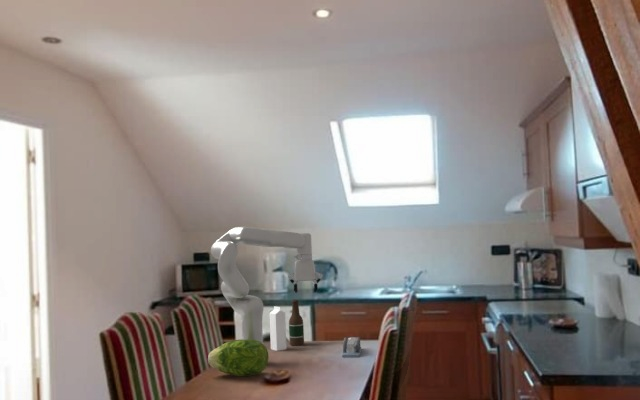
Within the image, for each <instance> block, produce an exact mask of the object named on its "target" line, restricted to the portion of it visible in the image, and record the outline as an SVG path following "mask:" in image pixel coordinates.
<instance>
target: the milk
mask: <svg viewBox="0 0 640 400" xmlns="http://www.w3.org/2000/svg"><path fill="white" fill-rule="evenodd" d="M286 323H287V321H286V312H284V311H282V310H281V307H280V306H273V310H271V311H270V312H269V335H270V337H269V338H270V350H272V351H276V352H279V351H285V350H287V349H288V348H287V329H286V328H287V326H286Z"/></svg>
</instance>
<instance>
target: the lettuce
mask: <svg viewBox="0 0 640 400" xmlns="http://www.w3.org/2000/svg"><path fill="white" fill-rule="evenodd" d="M207 361H208V365H210V367H212V368H213V369H216V370H218V371H220V372H222V373H224V374H227V375H231V376H237V377H249V376H254V375H259V374H261V373H262V372H263V371H264V370H266V368H267V366H268V363H269V351H268V349H267V346H266V345H265V344H264V343H263V344H262V343H261V342H259V341H256V340H250V339H248V340H246V339H242V338H241V339H234V340H229V341H227V342H225V343H222V344H221V345H220V346H218V347H216V348H214V349H213V350H211V351H210V352H209V353H208V358H207Z"/></svg>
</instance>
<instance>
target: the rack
mask: <svg viewBox="0 0 640 400" xmlns="http://www.w3.org/2000/svg"><path fill="white" fill-rule="evenodd" d="M356 338H357V341H356V350H355V353H354V354H347V342H348V337H344V338H343V340H342V358H360V355H361V352H362V346H361V337H360V336H359V337H358V336H357V337H356Z"/></svg>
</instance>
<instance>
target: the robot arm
mask: <svg viewBox="0 0 640 400" xmlns="http://www.w3.org/2000/svg"><path fill="white" fill-rule="evenodd" d="M239 245H244V246H245V245H247V246H255V247H263V248H264V247H265V248H284V249H289V250H291V249H295V250H296V255H294V256H293V258H294V259H296V260H295V262H294V272H292V273H291V274H290V275H288V276H287V278H288V279H289V281H290V282H291V283H292V285H293V292H295V293H296V294H297V293H298V292H299V291H298V282H309V281H312V282H313V283H314V284H313V285H314V286H313V290H314V293H317V291H318V290H319V289H318V288H319V287H318V283H320V282H321V280H322V278H323V276H324V275H323V274H322V273H320V272H317V271H316V266H315V261H314V260H313V247H312V246H313V245H312V235H311V233H309V232H303V233H301V232H300V233H299V232H291V231H283V230H275V229H269V228H261V227H259V228H258V227H252V226H235V227H233V228H231V229H230V230H228V231H227V232H226V233H225V234H223V235H222V236H221V237H219V239H217V240H216V241H215V242H213V244H212V245H211V248H210V253H211V254H210V255H212V256H213V258H214V259H216V260H218V261H217V272H218V275H219V276H220V278H221V280H222V282H221V285H220V289H221V292H222V295H223V297H224V298H225V299H226V302H228V303H229V305H230V307H231V309H233V311H235V313H236V314H238V315H242V317H243V318H242V322H241V337H242V338H241V339H246V340H248V339H250V340H256V341H259V342H261V343H262V344H263V345H264V337H263V334H264V333H263V317H264V302H263V300H262V299H261V298H260V297H258V296H256V295H252V294H251V295H250V294H249V293H250V285H249V284H248V281H247V280H246V279H245V277H244V276H243V275H242V273H241V272H240V270H239V269H238V266H237V263H236V261H237V256H238V252H239V249H238V246H239ZM316 276H317V277H318V278H317V279H316ZM293 277H294V279H293Z"/></svg>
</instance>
